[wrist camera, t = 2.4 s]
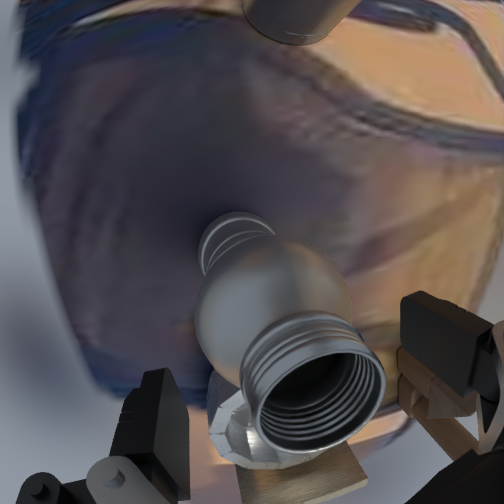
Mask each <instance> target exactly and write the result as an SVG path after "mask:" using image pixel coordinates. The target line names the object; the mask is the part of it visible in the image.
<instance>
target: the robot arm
mask: <svg viewBox="0 0 504 504" xmlns="http://www.w3.org/2000/svg"><path fill="white" fill-rule="evenodd" d="M361 1H362V0H243V10H244V14H245V16H246V18H247V19H248V21H249V22H250V23H251V24H252V25H253V27H254V28H255V29H257V30H258V31H259V32H261V33H262V34H264V35H266V36H267V37H269V38H271V39H274V40H276V41H279V42H282V43H287V44H292V45H306V44H312V43H315V42H318V41H320V40H322V39H323V38H325V37H326V36H327V35H328V34H329V33H330V32H331V31H332V30H333V29H334V28H335V26H336V25H337V24H338V23H339V22H340V21H341V20H342V19H344V18H345V17H346V16H347V15H348V14H349V13H350V12H351V11H352V10H353V9H354V8H355V7H356V6H357V5H358V4H359V3H360V2H361ZM400 338H401V342H402V345H403V347H404V349H405V350H406V351H407V352H408V353H409V354H411V355H412V356H413V357H414V358H415V359H417V360H418V361H419V362H420V363H421V364H423V365H424V366H425V367H426V368H427V369H429V370H430V371H431V372H432V373H433V374H435V375H436V376H437V377H438V378H439V379H441V380H442V381H443V382H444V383H445V384H447V385H448V386H449V387H450V388H451V389H452V390H454V391H455V392H456V393H457V394H458V395H460V396H461V397H462V398H465V397H466V396H467V395H469V394H470V393H471V392H473V391H474V390H475V391H477V392H478V393H477V396H476V408H477V419H478V432H479V446H478V451H477V453H476V452H475V451H474V450H473V449H472V448H471V449H470V450H469V451H468V452H466V453H465V454H464V455H462V456H461V457H460V458H458V459H457V460H455V461H454V462H453V463H451V464H450V465H448V466H447V467H445V468H444V469H442V470H441V471H439V472H438V473H437V474H436V475H435V476H434V477H433V478H432V479H431V480H430V481H429V482H428V483H427V484H426V485H425V486H424V487H423V488H422V489H421V490H420V491H418V492H417V493H416V494H415V495H414V496H413V497H412V498H411V499H410V500H408V501H407V502H406V503H405V504H504V320H503V321H500V322H498V323H496V324H495V325H494V324H492V323H490V322H488V321H486V320H484V319H482V318H480V317H479V316H477V315H475V314H473V313H471V312H469V311H468V312H467V311H466V310H465V309H463V308H461V307H458V306H457V305H455V304H453V303H451V302H449V301H447V300H442V299H438V298H436V297H434V296H432V295H430V294H428V293H426V292H424V291H417V292H415V293H413V294H410V295H408V296H405V297H403V298H402V300H401V303H400ZM121 412H122V413H121V414H120V417H119V423H118V424H117V428H116V431H115V435H114V439H113V442H112V446H111V450H110V454H109V457H106V458H104V459H101V460H100V461H98V462H96V463H95V464H94V465H93V466H92V467H91V469H90V470H89V471H88V474H87V477H86V479H83V480H79V481H74V482H70V483H65V484H62V483H61V482H60V481H59V480H58V479H57V478H56V477H55V476H53V475H52V474H49V473H45V472H40V473H36V474H34V475H32V476H30V477H29V478H27V479H26V481H25V482H24V483H23V485H22V487H21V489H20V492H19V495H18V498H17V501H16V504H178V501H184V500H190V469H189V415H188V410H187V407H186V404H185V402H184V400H183V398H182V396H181V393H180V391H179V389H178V387H177V385H176V382H175V380H174V378H173V376H172V373H171V371H170V370H169V369H168V368H162V369H156V370H151V371H146V372H144V375H143V379H142V382H141V386H140V388H136V389H133V390H132V391H131V393H130V394H129V395H128V396H127V397H126V399H125V400H124V404H123V407H122V410H121Z"/></svg>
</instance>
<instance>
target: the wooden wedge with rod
mask: <svg viewBox="0 0 504 504" xmlns="http://www.w3.org/2000/svg"><path fill="white" fill-rule="evenodd" d="M397 356H398V370H399V371H400V372H401V373H402V376H401V377H400V379H399V406H400V407H401V408H402V409H403V410H404V411H405V413H406V414H407V415H408V416H409V417H410V418H412V417H415V418H416V420H417V421H418V422H419V423H420V424H421V425H422V426H423V427H424V428H425V430H426V431H427V432H428V433H429V434H430V435H431V436H432V438H433V439H434V440H435V441H436V442H437V443H438V444H439V445H440V447H441V448H442V449H443V450H444V451H445V452H446V453H447V455H448V456H449V457H450V458H451V459H452V460H453V461H455V460H457V459H458V458H460V457H461V456H462V455H464V454H465V453H466V452H468V451H469V450H470V449H471V448H472V449H473V450H474V451H475V452H476V453H477V451H478V446H479V441H478V440H477V439H476V438H475V437H473V435H472V434H471V433H469V431H467V429H465V428H464V427H463V426H462V425H461V424H460V423H459V422H458V421H457V420H456V419H455V418H454V417H467V416H471V415H473V414H474V413H475V412H476V411H477V408H476V396H477V393H478V392H477V391H475V390H474V391H473V392H471V393H470V394H469V395H467V396H466V397H465V398H462V397H461V396H460V395H458V394H457V393H456V392H455V391H454V390H452V389H451V388H450V387H449V386H448V385H447V384H445V383H444V382H443V381H442V380H441V379H439V378H438V377H437V376H436V375H435V374H433V373H432V372H431V371H430V370H429V369H427V368H426V367H425V366H424V365H423V364H421V363H420V362H419V361H418V360H417V359H415V358H414V357H413V356H412V355H411V354H409V353H408V352H407V351H406V350H405V349H404V347H402V348H400V349H398V351H397Z"/></svg>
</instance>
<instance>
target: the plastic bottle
mask: <svg viewBox="0 0 504 504" xmlns="http://www.w3.org/2000/svg"><path fill="white" fill-rule="evenodd" d="M198 261H199V265H200V269H201V271H202V273H203V275H204V279H203V281H202V283H201V286H200V290H199V293H198V297H197V301H196V305H195V320H194V323H195V329H196V335H197V338H198V341H199V343H200V346H201V348H202V351H203V352H204V354H205V355H206V357H207V358H208V360H209V361H210V363H211V364H212V366H213V367H214V368H215V370H216V371H217V372H218V373H219V374H220V375H221V376H222V377H223V378H225V379H226V380H227V381H229V382H230V383H232V384H234V385H235V386H237V387H239V388H241V391H242V395H243V398H244V400H245V403H246V405H247V406H248V407H249V410H250V414H251V418H252V422H253V425H254V427H255V429H256V432H257V433H258V435H259V437H260V438H261V439H262V440H263V442H264V443H265V444H267V445H268V446H270V447H271V448H273V449H275V450H278V451H280V452H284V453H290V454H308V453H315V452H319V451H323V450H326V449H329V448H331V447H334V446H336V445H338V444H340V443H342V442H344V441H346V440H347V439H349V438H350V437H352V436H353V435H354V434H356V433H357V432H358V431H359V430H361V429H362V428H363V427H364V426H365V425H366V424H367V423H368V422H369V420H370V419H371V418H372V417H373V416H374V414H375V413H376V411H377V409H378V408H379V406H380V404H381V402H382V399H383V397H384V393H385V388H386V375H385V371H384V368H383V366H382V364H381V362H380V361H379V359H378V357H377V356H376V354H375V353H374V352H373V351H372V350H371V349H370V348H369V347H368V346H367V345H366V344H365V343H364V340H363V338H362V337H361V335H360V334H359V332H358V331H357V330H356V329H355V328H354V327H353V326H352V318H353V307H352V300H351V295H350V293H349V290H348V287H347V284H346V282H345V280H344V278H343V276H342V274H341V272H340V271H339V269H338V268H337V266H336V265H335V263H334V262H333V261H332V260H331V259H330V258H329V257H328V256H327V255H326V254H325V253H324V252H323V251H321V250H320V249H318V248H317V247H315V246H313V245H312V244H310V243H307V242H304V241H301V240H298V239H295V238H292V237H288V236H280V235H276V233H275V232H274V230H273V229H272V228H271V226H270V225H269V224H268V223H267V222H266V221H265V220H264V219H262V218H260V217H259V216H257V215H255V214H252V213H249V212H242V211H238V212H230V213H227V214H224V215H222V216H220V217H218V218H216V219H215V220H214V221H213V222H212V223H210V224H209V226H208V227H207V228H206V229H205V231H204V233H203V235H202V237H201V239H200V242H199V246H198Z"/></svg>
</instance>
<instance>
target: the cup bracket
mask: <svg viewBox="0 0 504 504" xmlns="http://www.w3.org/2000/svg"><path fill="white" fill-rule="evenodd" d="M206 399H207V415H208V428H209V429H208V430H209V436H210V438H211V440H212V442H213V444H214V446H215V448H216V450H217V451H218V453H219V455H221V457H223V458H225V459H227V460H229V461H231V462H233V463H235V466H236V472H237V477H238V483H239V488H240V494H241V499H242V504H318V503H321V502H324V501H327V500H330V499H332V498H335V497H338V496H341V495H343V494H346V493H348V492H351V491H353V490H355V489H358V488H360V487H363V486H365V485H367V482H368V478H367V476H366V474H365V473H364V471H363V469H362V467H361V466H360V464H359V462H358V461H357V459H356V457H355V455H354V454H353V452H352V450H351V449H350V447H349V445H348V443H347V442H346V441H344V442H342V443H340V444H338V445H336V446H334V447H331V448H329V449H326V450H323V451H319V452H315V453H308V454H290V453H284V452H280V451H278V450H275V449H273V448H271V447H270V446H268V445H267V444H265V443H264V442H263V440H262V439H261V438H260V437H259V435H258V433H257V432H256V429H255V427H254V425H253V422H252V418H251V414H250V410H249V407H248V406H247V405H246V403H245V400H244V398H243V395H242V391H241V388H239V387H237V386H235V385H234V384H232V383H230V382H229V381H227V380H226V379H225V378H223V377H222V376H221V375H220V374H219V373H218V372H217V371H216V370H215V368H214V369H213V371H212V373H211V376H210V379H209V383H208V392H207V396H206Z"/></svg>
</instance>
